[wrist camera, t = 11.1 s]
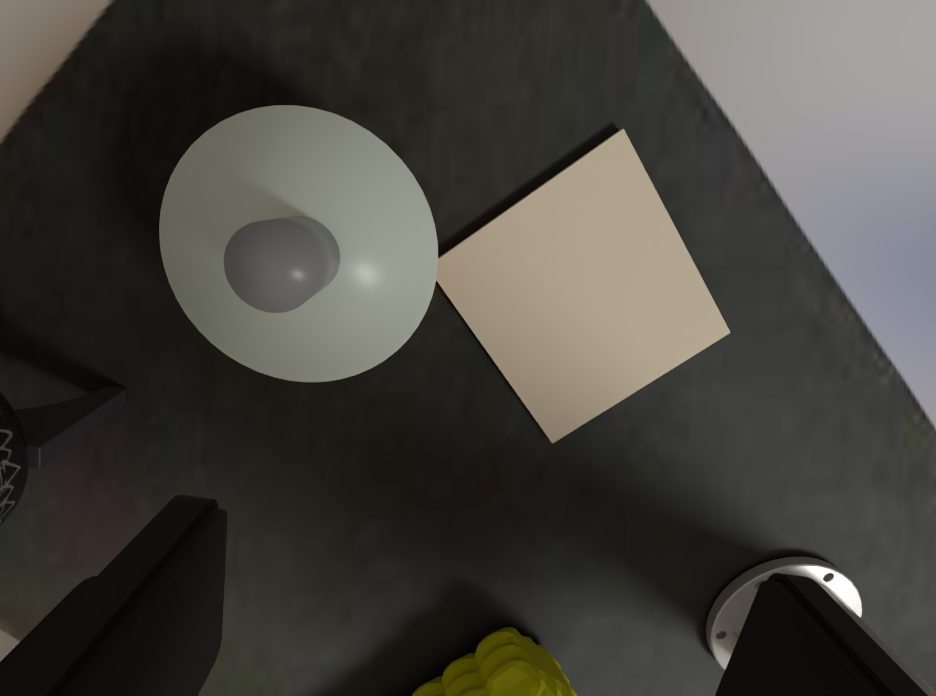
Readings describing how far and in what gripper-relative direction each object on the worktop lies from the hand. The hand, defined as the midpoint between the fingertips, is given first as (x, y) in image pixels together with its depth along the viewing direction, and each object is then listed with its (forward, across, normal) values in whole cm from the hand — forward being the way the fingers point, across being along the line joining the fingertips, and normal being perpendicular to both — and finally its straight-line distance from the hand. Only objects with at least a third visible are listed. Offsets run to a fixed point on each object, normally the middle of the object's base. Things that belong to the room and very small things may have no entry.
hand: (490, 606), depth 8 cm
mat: (+24, -8, -2) cm, 25 cm away
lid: (+18, +8, -3) cm, 20 cm away
